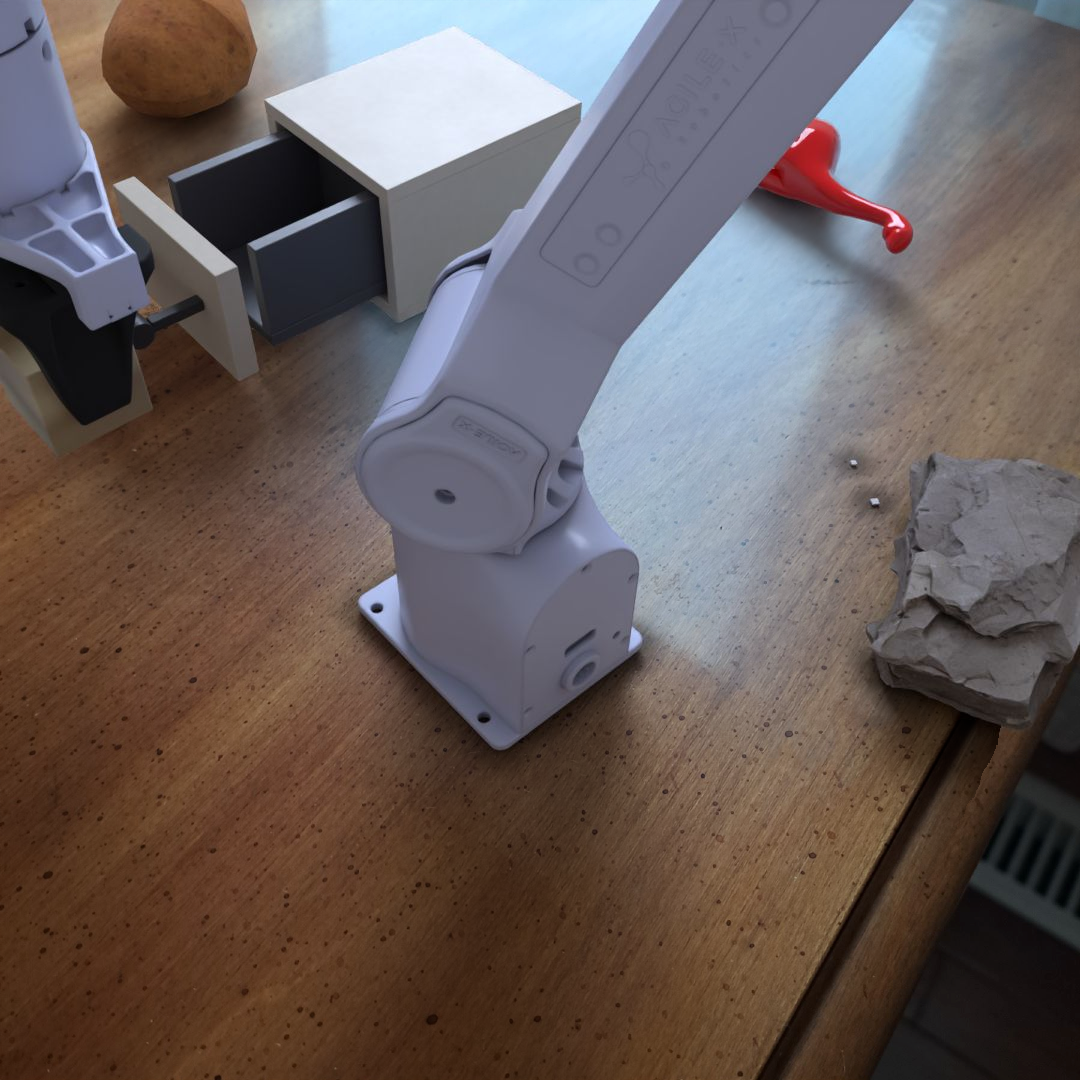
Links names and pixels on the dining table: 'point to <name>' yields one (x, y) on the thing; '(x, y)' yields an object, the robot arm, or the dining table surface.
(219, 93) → the potato
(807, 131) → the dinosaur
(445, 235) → the cabinet
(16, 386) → the block
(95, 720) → the dining table surface
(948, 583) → the rock
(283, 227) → the drawer
